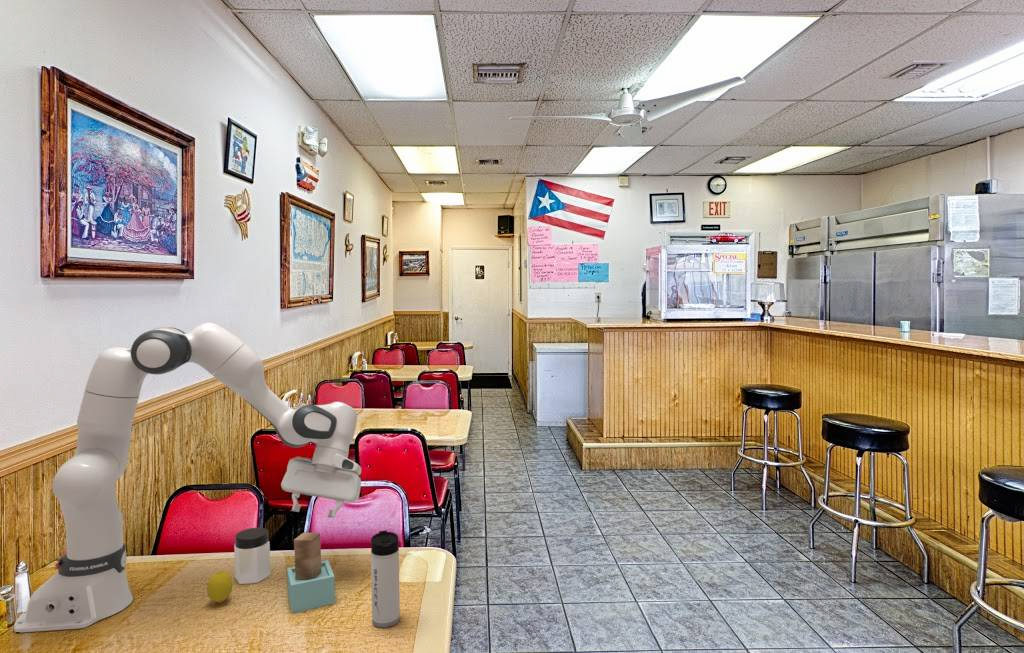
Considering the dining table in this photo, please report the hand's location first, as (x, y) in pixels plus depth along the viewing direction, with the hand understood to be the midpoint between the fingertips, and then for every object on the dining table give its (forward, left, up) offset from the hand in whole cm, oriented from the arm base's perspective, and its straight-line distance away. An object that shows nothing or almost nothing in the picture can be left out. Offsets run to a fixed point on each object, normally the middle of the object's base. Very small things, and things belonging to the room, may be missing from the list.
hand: (313, 514), depth 148 cm
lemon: (-22, -2, -19) cm, 29 cm away
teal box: (-1, -7, -19) cm, 20 cm away
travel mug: (+16, -23, -19) cm, 34 cm away
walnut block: (-1, -7, -13) cm, 15 cm away
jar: (-16, +10, -19) cm, 27 cm away
